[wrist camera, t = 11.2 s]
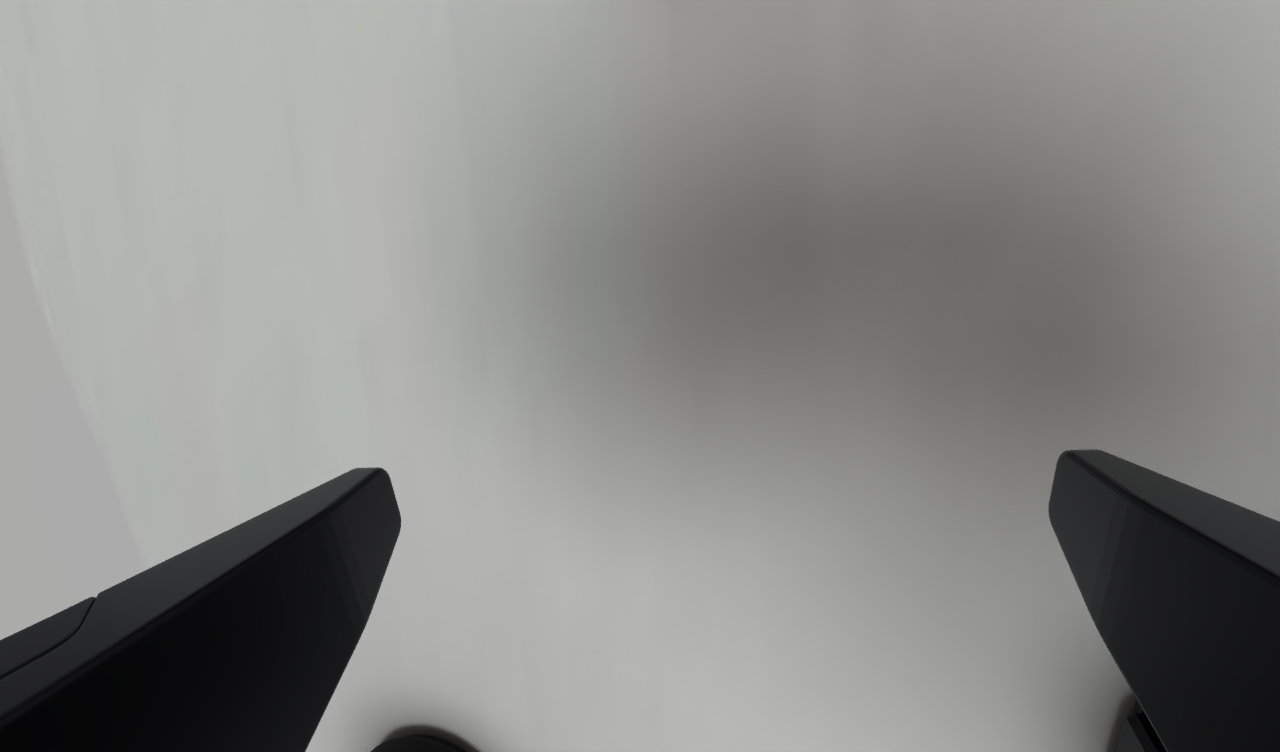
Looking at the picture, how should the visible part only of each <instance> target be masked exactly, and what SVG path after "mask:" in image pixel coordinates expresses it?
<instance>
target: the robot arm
mask: <svg viewBox="0 0 1280 752" xmlns="http://www.w3.org/2000/svg"><path fill="white" fill-rule="evenodd" d="M1049 517H1050V521H1051V525H1052V527H1053V529H1054V532H1055V534H1056V536H1057V539H1058V541H1059V543H1060V546H1061V548H1062V550H1063V553H1064V555H1065V557H1066V560H1067V562H1068V564H1069V566H1070V569H1071V571H1072V573H1073V576H1074V578H1075V580H1076V583H1077V585H1078V587H1079V590H1080V592H1081V594H1082V597H1083V599H1084V601H1085V604H1086V606H1087V608H1088V611H1089V613H1090V615H1091V617H1092V619H1093V621H1094V623H1095V625H1096V628H1097V629H1098V631H1099V633H1100V635H1101V637H1102V639H1103V641H1104V642H1105V644H1106V646H1107V648H1108V650H1109V651H1110V653H1111V655H1112V657H1113V658H1114V660H1115V662H1116V664H1117V665H1118V667H1119V669H1120V671H1121V672H1122V674H1123V676H1124V677H1125V679H1126V681H1127V683H1128V684H1129V686H1130V688H1131V690H1132V691H1133V693H1134V695H1135V697H1136V698H1137V701H1136V704H1135V707H1134V710H1133V712H1131V713H1130V714H1128V715H1127V716H1126V717H1125V719H1124V722H1123V725H1122V728H1121V731H1120V735H1119V738H1118V741H1117V744H1116V748H1115V751H1114V752H1280V522H1279V521H1276V520H1274V519H1271V518H1269V517H1266V516H1264V515H1261V514H1259V513H1256V512H1254V511H1251V510H1249V509H1246V508H1244V507H1241V506H1239V505H1236V504H1234V503H1231V502H1229V501H1226V500H1224V499H1221V498H1219V497H1216V496H1214V495H1211V494H1209V493H1206V492H1204V491H1201V490H1199V489H1196V488H1194V487H1191V486H1189V485H1186V484H1184V483H1181V482H1179V481H1176V480H1174V479H1171V478H1169V477H1166V476H1164V475H1161V474H1159V473H1156V472H1154V471H1151V470H1149V469H1146V468H1144V467H1141V466H1139V465H1136V464H1134V463H1131V462H1129V461H1126V460H1124V459H1121V458H1119V457H1116V456H1114V455H1111V454H1109V453H1106V452H1104V451H1101V450H1068V451H1065V452H1063V453H1062V454H1061V455H1060V457H1059V459H1058V461H1057V465H1056V470H1055V475H1054V481H1053V486H1052V491H1051V496H1050V501H1049ZM400 528H401V516H400V512H399V508H398V504H397V501H396V497H395V494H394V490H393V487H392V483H391V480H390V477H389V474H388V473H387V471H385V470H384V469H382V468H356V469H353V470H351V471H349V472H347V473H344V474H342V475H340V476H338V477H336V478H334V479H332V480H330V481H328V482H326V483H324V484H322V485H320V486H318V487H316V488H314V489H312V490H310V491H308V492H305V493H303V494H301V495H299V496H297V497H295V498H293V499H291V500H289V501H287V502H285V503H283V504H281V505H279V506H277V507H275V508H273V509H271V510H269V511H267V512H264V513H262V514H260V515H258V516H256V517H254V518H252V519H250V520H248V521H246V522H244V523H242V524H240V525H238V526H236V527H234V528H232V529H230V530H228V531H225V532H223V533H221V534H219V535H217V536H215V537H213V538H211V539H209V540H207V541H205V542H203V543H201V544H199V545H197V546H195V547H193V548H191V549H189V550H186V551H184V552H182V553H180V554H178V555H176V556H174V557H172V558H170V559H168V560H166V561H164V562H162V563H160V564H158V565H156V566H154V567H152V568H150V569H148V570H145V571H143V572H141V573H139V574H137V575H135V576H133V577H131V578H129V579H127V580H125V581H123V582H121V583H119V584H117V585H115V586H113V587H111V588H109V589H107V590H104V591H103V592H100V593H99V594H98V596H97V597H96V598H95V597H90V598H88V599H86V600H84V601H82V602H80V603H78V604H76V605H74V606H71V607H69V608H68V609H65V610H63V611H61V612H59V613H57V614H55V615H53V616H51V617H49V618H46V619H44V620H42V621H40V622H38V623H36V624H34V625H32V626H30V627H27V628H25V629H23V630H21V631H19V632H17V633H15V634H13V635H11V636H8V637H6V638H4V639H2V640H0V752H305V751H306V749H307V747H308V745H309V743H310V741H311V739H312V737H313V734H314V732H315V730H316V728H317V726H318V724H319V722H320V720H321V718H322V716H323V714H324V712H325V710H326V708H327V706H328V703H329V701H330V699H331V697H332V695H333V693H334V691H335V689H336V687H337V685H338V683H339V681H340V679H341V677H342V675H343V672H344V670H345V668H346V666H347V664H348V662H349V660H350V658H351V656H352V654H353V652H354V650H355V648H356V646H357V644H358V641H359V639H360V637H361V635H362V633H363V630H364V628H365V626H366V624H367V621H368V619H369V616H370V614H371V611H372V608H373V606H374V603H375V600H376V597H377V595H378V592H379V589H380V586H381V583H382V581H383V578H384V575H385V572H386V569H387V567H388V564H389V561H390V558H391V555H392V553H393V550H394V547H395V544H396V541H397V539H398V536H399V533H400Z"/></svg>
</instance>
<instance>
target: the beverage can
mask: <svg viewBox="0 0 1280 752" xmlns="http://www.w3.org/2000/svg"><path fill="white" fill-rule="evenodd" d="M371 752H465V751H464V750H462V749H461V748H460V747H458V746H456V745H454V744H453V743H450V742H448V741H446V740H443V739H441V738H437V737H433V736H428V735H413V736H408V737H403V738H396V739H392V740H388V741H386V742H384V743H382V744H380V745H379V746H377V747H376V748H374V749H373V750H372V751H371Z"/></svg>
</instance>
